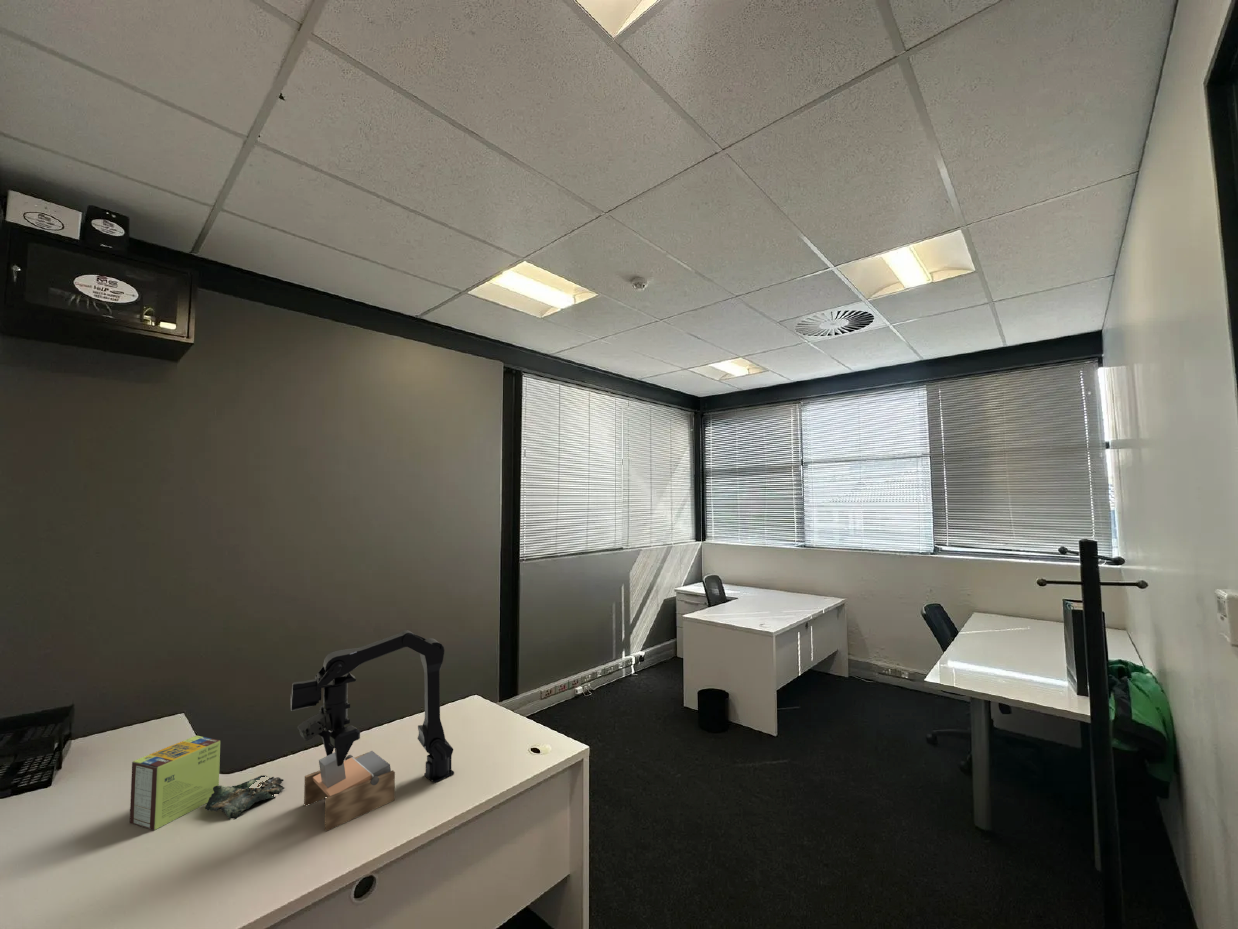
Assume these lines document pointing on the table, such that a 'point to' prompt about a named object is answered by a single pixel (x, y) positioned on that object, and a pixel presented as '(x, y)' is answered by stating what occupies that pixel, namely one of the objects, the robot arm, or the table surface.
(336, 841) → the table surface
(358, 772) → the trapdoor
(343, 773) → the stone
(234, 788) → the decorative rock
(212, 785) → the protein box
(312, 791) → the trapdoor frame
